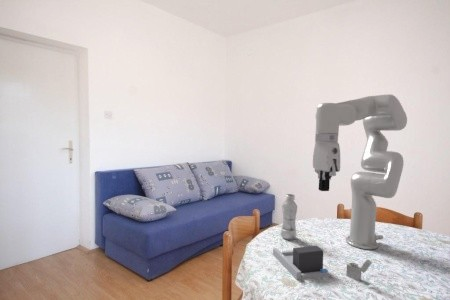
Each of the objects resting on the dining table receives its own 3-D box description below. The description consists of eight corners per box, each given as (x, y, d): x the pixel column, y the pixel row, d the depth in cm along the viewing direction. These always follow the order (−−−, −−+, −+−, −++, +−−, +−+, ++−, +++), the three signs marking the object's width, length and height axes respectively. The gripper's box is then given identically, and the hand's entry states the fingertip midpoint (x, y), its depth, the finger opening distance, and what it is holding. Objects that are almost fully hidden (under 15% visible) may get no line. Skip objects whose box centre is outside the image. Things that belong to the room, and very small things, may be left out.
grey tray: (301, 253, 104) (301, 246, 104) (329, 277, 87) (330, 268, 87) (272, 256, 102) (273, 248, 101) (296, 281, 84) (296, 272, 84)
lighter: (345, 277, 88) (347, 253, 87) (348, 275, 89) (349, 252, 88) (368, 287, 82) (370, 262, 82) (370, 285, 83) (372, 260, 83)
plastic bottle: (296, 242, 115) (298, 197, 114) (280, 241, 116) (282, 196, 115) (295, 237, 121) (297, 194, 120) (280, 235, 123) (282, 193, 122)
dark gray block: (316, 264, 94) (316, 245, 93) (322, 270, 90) (323, 250, 89) (292, 267, 92) (293, 248, 91) (298, 273, 88) (299, 253, 87)
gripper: (350, 139, 87) (347, 195, 88) (323, 138, 101) (320, 186, 102) (330, 139, 85) (327, 195, 86) (305, 138, 100) (303, 186, 101)
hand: (323, 190), depth 94 cm, fingers closed
